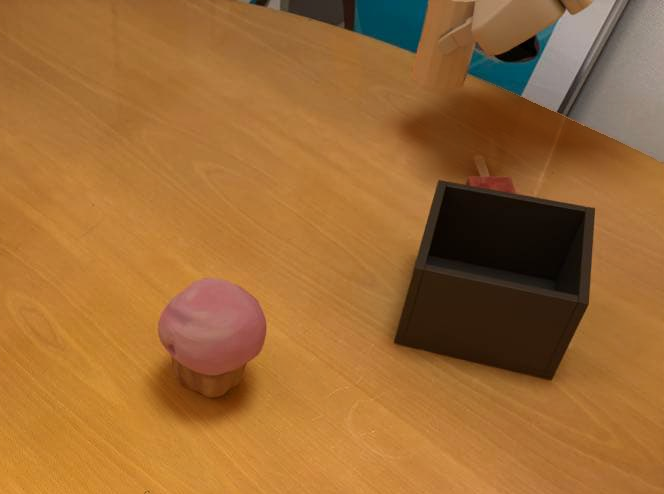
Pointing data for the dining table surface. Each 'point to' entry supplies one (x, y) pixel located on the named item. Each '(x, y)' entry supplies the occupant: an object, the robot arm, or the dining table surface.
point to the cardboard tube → (431, 64)
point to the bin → (499, 279)
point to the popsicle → (489, 179)
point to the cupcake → (212, 334)
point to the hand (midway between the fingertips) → (443, 33)
